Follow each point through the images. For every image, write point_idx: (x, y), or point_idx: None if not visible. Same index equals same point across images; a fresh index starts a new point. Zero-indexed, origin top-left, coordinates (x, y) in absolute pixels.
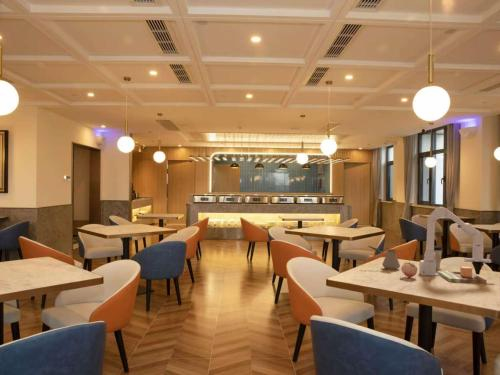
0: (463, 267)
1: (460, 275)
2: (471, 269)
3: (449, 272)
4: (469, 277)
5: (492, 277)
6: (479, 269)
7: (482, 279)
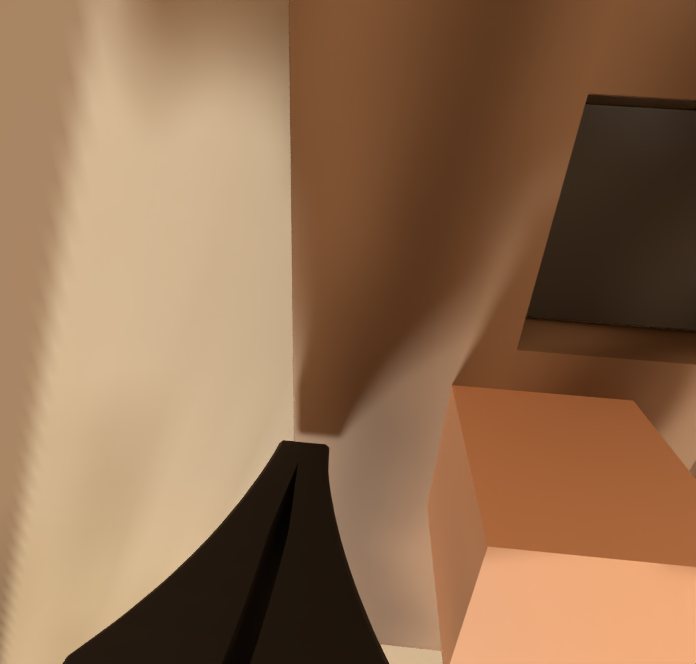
0: (694, 621)
1: None
2: (502, 514)
3: None
4: (528, 345)
5: (58, 522)
6: (258, 525)
7: (361, 82)
